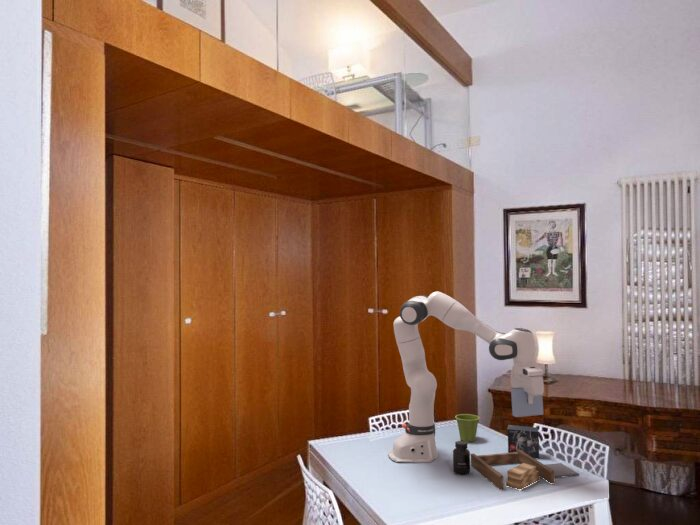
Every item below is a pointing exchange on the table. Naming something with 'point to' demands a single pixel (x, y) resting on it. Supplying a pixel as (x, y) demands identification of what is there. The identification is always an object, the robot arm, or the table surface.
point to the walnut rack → (495, 477)
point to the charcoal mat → (561, 470)
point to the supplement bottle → (461, 458)
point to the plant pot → (467, 426)
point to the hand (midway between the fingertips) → (527, 402)
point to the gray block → (525, 403)
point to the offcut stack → (522, 476)
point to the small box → (523, 440)
